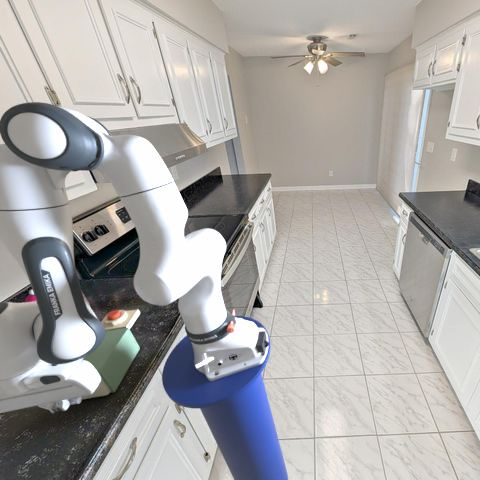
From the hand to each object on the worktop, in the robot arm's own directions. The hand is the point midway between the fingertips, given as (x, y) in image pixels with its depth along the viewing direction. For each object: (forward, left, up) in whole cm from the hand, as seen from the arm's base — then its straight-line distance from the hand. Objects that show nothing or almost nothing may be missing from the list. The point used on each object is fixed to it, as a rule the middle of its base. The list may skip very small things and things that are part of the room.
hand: (62, 408), depth 61 cm
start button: (+7, -35, -2) cm, 35 cm away
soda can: (+27, -46, -6) cm, 54 cm away
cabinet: (0, -14, -6) cm, 15 cm away
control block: (+7, -35, -6) cm, 36 cm away
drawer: (0, -10, -5) cm, 11 cm away
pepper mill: (+25, -34, -6) cm, 43 cm away
